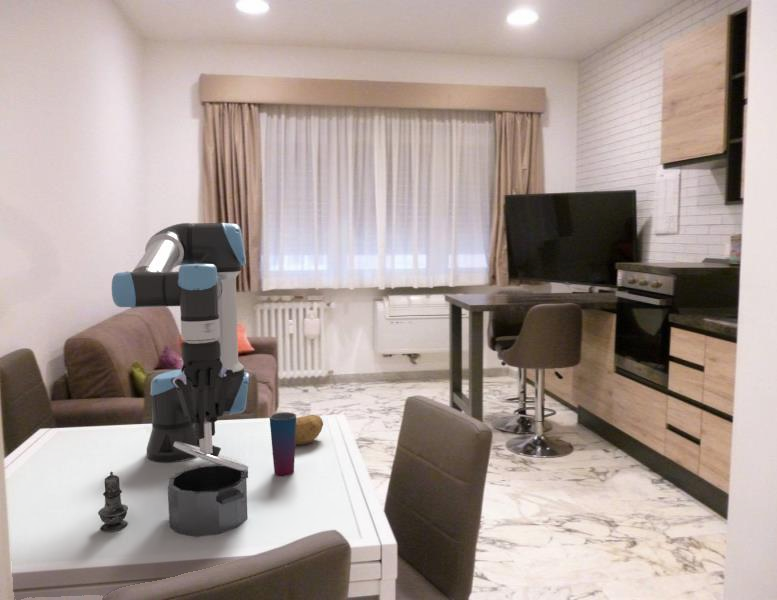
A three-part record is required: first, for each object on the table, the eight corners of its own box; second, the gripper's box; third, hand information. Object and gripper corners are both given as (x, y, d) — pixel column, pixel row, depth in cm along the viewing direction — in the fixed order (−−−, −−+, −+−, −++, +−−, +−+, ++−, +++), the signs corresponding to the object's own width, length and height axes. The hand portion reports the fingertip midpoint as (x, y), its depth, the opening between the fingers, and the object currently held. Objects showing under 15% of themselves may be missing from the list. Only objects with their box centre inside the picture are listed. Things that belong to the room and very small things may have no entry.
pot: (152, 515, 135) (150, 475, 134) (220, 492, 147) (219, 456, 146) (198, 547, 121) (196, 503, 120) (269, 519, 133) (268, 479, 132)
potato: (332, 439, 186) (331, 413, 185) (298, 452, 175) (298, 425, 174) (309, 433, 192) (308, 408, 191) (275, 445, 181) (274, 419, 180)
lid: (159, 439, 133) (164, 428, 134) (222, 457, 145) (226, 447, 145) (197, 458, 122) (202, 445, 122) (262, 476, 133) (267, 464, 134)
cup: (292, 478, 156) (290, 420, 155) (266, 476, 157) (265, 419, 156) (301, 468, 163) (300, 412, 161) (276, 466, 164) (275, 411, 163)
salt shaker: (104, 520, 133) (102, 466, 132) (133, 519, 133) (130, 465, 132) (94, 533, 127) (91, 477, 126) (123, 532, 128) (121, 476, 126)
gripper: (179, 346, 118) (185, 465, 121) (238, 337, 127) (243, 448, 130) (162, 342, 123) (168, 456, 126) (219, 334, 132) (224, 440, 135)
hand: (206, 452), depth 128 cm, fingers closed
